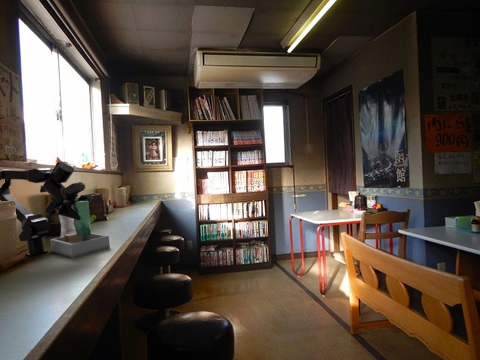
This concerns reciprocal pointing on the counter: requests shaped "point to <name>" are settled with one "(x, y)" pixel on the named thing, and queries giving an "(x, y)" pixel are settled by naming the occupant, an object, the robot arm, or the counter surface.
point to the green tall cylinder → (82, 218)
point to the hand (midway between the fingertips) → (85, 218)
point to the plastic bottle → (66, 225)
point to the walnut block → (72, 238)
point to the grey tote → (80, 245)
